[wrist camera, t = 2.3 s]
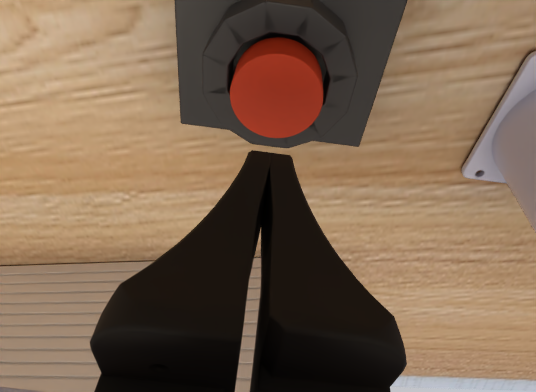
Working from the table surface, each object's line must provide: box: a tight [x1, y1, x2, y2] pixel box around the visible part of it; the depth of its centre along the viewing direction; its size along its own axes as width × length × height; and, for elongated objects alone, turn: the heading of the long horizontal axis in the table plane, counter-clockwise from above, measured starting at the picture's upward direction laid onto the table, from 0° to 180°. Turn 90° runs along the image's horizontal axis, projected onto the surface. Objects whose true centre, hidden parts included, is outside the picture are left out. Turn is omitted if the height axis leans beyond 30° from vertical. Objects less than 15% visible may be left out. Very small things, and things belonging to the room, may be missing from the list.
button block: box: [175, 0, 407, 148], centre depth 19 cm, size 10×8×4 cm
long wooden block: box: [0, 258, 261, 392], centre depth 33 cm, size 32×11×11 cm, turn 98°
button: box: [230, 37, 323, 138], centre depth 17 cm, size 4×4×2 cm
